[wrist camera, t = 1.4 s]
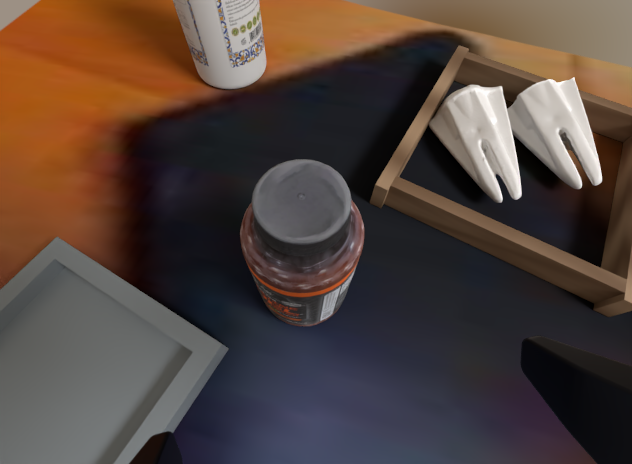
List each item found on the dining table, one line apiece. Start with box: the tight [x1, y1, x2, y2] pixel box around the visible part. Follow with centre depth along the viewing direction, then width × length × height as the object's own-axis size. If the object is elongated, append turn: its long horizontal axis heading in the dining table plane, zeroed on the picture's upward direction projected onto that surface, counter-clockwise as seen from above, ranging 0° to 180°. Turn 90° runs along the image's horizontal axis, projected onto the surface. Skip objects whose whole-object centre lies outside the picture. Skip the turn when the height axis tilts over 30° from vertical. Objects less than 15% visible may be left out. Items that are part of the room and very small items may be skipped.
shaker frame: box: [370, 46, 632, 317], centre depth 27 cm, size 19×18×2 cm
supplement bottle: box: [240, 159, 364, 326], centre depth 18 cm, size 6×6×11 cm
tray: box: [0, 237, 229, 464], centre depth 19 cm, size 14×14×2 cm
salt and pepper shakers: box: [429, 77, 602, 203], centre depth 27 cm, size 12×4×11 cm
